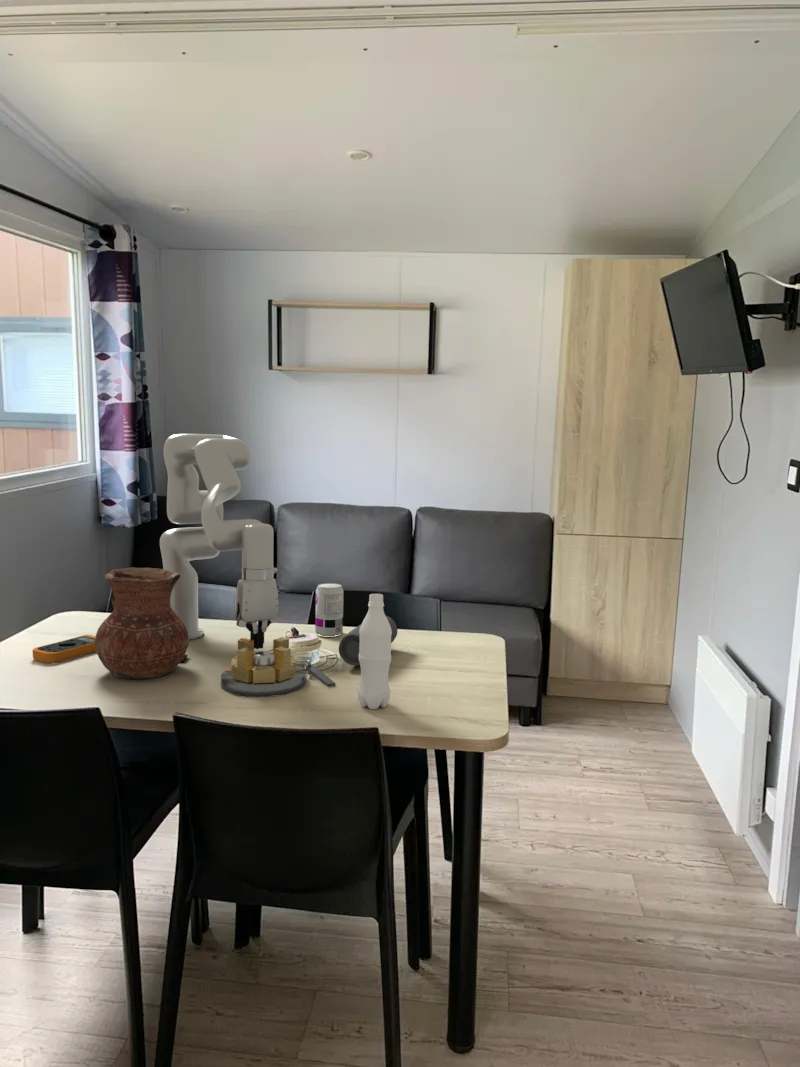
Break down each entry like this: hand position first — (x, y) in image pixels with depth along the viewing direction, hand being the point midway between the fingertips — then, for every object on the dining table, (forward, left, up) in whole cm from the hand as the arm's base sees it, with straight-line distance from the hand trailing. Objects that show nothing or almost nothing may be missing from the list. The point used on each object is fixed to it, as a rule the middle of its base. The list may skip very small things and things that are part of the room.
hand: (257, 647), depth 187 cm
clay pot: (-28, +4, -7) cm, 29 cm away
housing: (+2, -6, -7) cm, 9 cm away
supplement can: (+19, +38, -7) cm, 43 cm away
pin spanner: (+15, -2, -7) cm, 17 cm away
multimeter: (-50, +20, -8) cm, 54 cm away
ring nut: (+2, -6, -5) cm, 8 cm away
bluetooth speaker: (+29, +13, -7) cm, 32 cm away
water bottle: (+27, -23, -7) cm, 36 cm away
